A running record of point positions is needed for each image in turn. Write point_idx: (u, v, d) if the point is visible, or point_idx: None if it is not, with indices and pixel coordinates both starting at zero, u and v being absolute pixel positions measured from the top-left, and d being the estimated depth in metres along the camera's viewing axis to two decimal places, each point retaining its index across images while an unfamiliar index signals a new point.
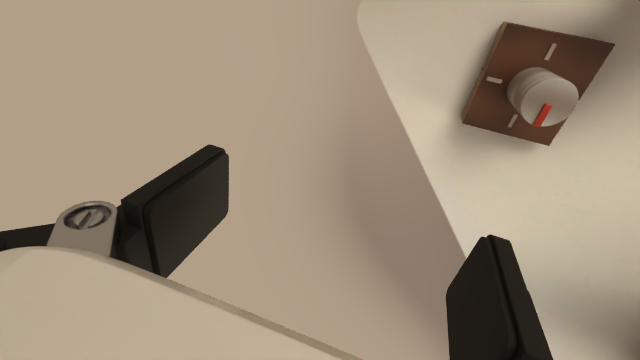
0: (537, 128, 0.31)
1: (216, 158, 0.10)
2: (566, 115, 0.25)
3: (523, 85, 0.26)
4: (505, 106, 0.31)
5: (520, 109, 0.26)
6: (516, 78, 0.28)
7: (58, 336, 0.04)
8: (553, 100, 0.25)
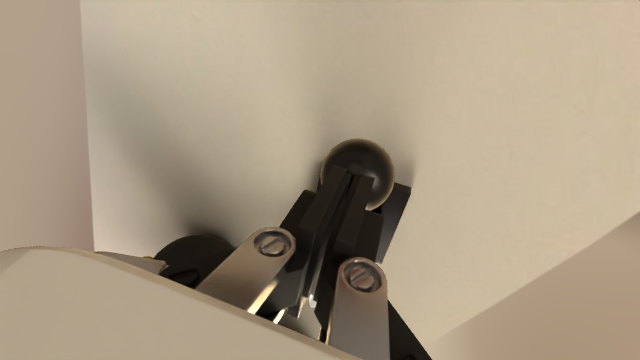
0: None
1: (346, 179, 0.11)
2: None
3: None
4: None
5: None
6: None
7: (58, 336, 0.04)
8: None
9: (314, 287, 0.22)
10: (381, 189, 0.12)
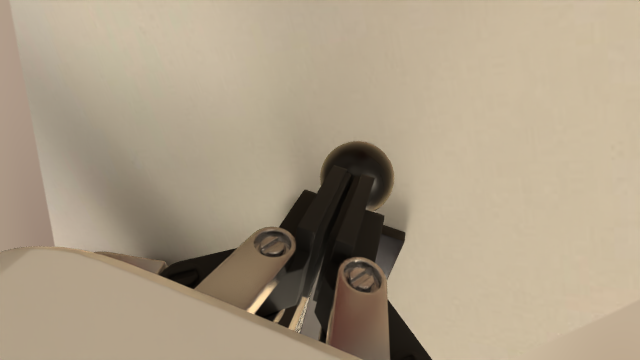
0: None
1: (346, 179, 0.11)
2: None
3: None
4: None
5: None
6: None
7: (58, 336, 0.04)
8: None
9: None
10: (384, 179, 0.12)
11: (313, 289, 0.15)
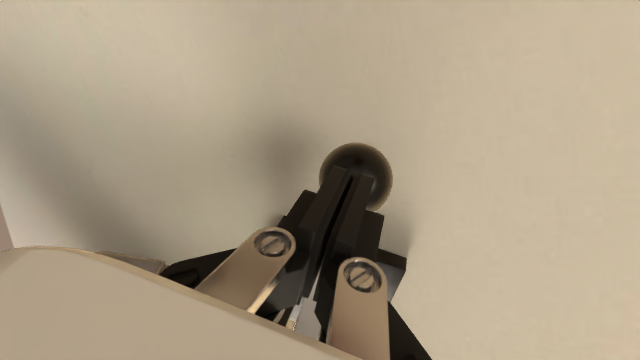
0: None
1: (346, 179, 0.11)
2: None
3: None
4: None
5: None
6: None
7: (58, 336, 0.04)
8: None
9: None
10: (385, 172, 0.12)
11: (301, 313, 0.13)
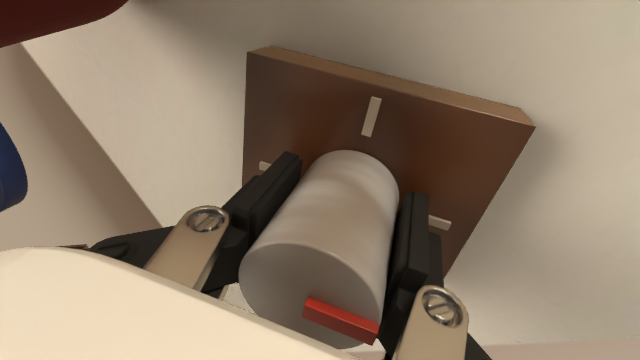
0: (463, 166, 0.11)
1: (295, 164, 0.11)
2: (339, 266, 0.07)
3: None
4: None
5: None
6: None
7: (58, 336, 0.04)
8: (295, 293, 0.08)
9: None
10: None
11: None
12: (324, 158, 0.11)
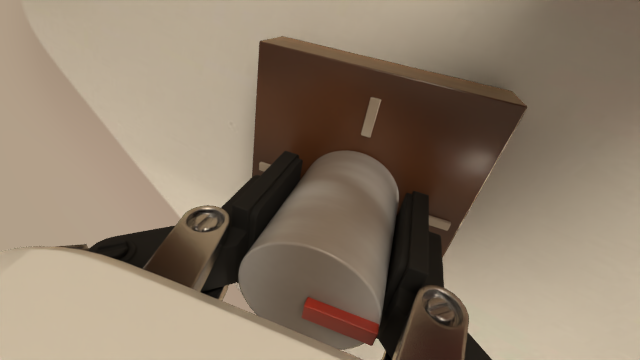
0: None
1: (295, 164, 0.11)
2: (338, 266, 0.07)
3: None
4: None
5: None
6: None
7: (58, 336, 0.04)
8: (294, 293, 0.08)
9: None
10: None
11: None
12: (323, 159, 0.11)
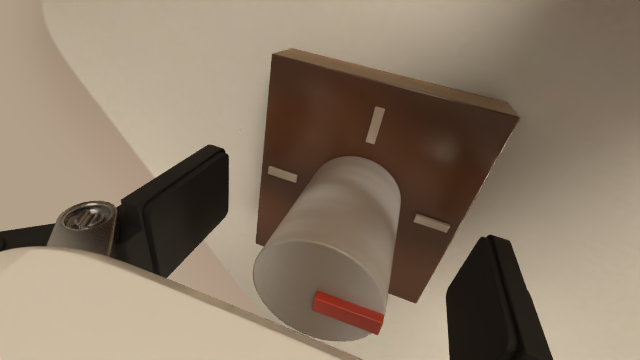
0: None
1: (216, 158, 0.10)
2: (345, 260, 0.08)
3: None
4: None
5: None
6: None
7: (58, 336, 0.04)
8: (305, 287, 0.09)
9: None
10: None
11: None
12: (329, 164, 0.12)
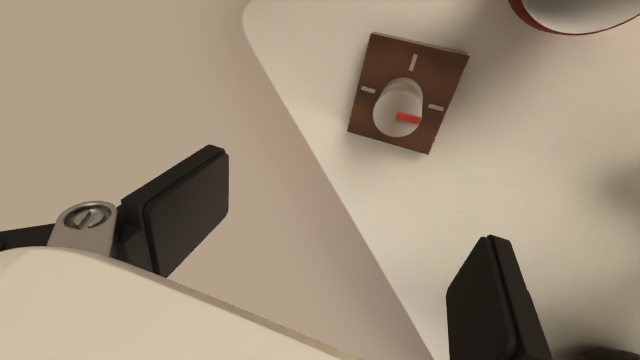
0: (414, 137, 0.31)
1: (216, 158, 0.10)
2: (409, 96, 0.24)
3: None
4: None
5: (403, 135, 0.26)
6: None
7: (58, 336, 0.04)
8: (393, 112, 0.25)
9: None
10: None
11: None
12: (392, 80, 0.29)
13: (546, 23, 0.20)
